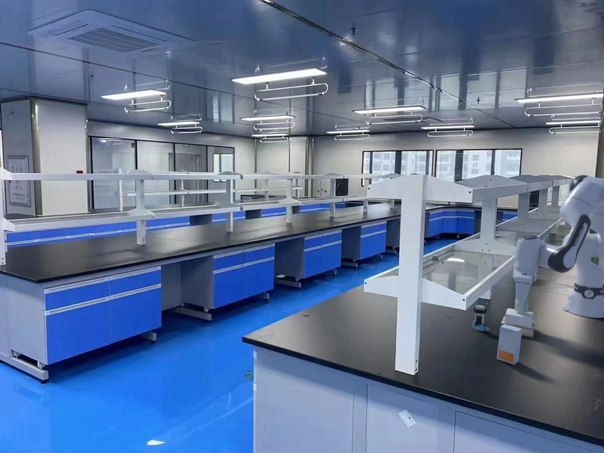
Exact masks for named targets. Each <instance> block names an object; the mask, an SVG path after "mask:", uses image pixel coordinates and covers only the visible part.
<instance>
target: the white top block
mask: <svg viewBox="0 0 604 453" xmlns="http://www.w3.org/2000/svg"><path fill="white" fill-rule="evenodd" d="M504 316H505V323H506V324H511V325H517V326H522V327H527V328H532V322H533V321H534V320H533V319H534V312H532V311H528V312H527V313H523V312H517V311H515V308H510V307H509V308H507V309H506V312H505V315H504Z"/></svg>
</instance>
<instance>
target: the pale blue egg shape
mask: <svg viewBox="0 0 604 453" xmlns="http://www.w3.org/2000/svg"><path fill="white" fill-rule="evenodd" d="M529 302H530V299H528V298H527V300H526V302H524V308H523V309H519V301H517V300H516V299H515V302H514V309H515V311H517V312H523V313H527V312H529V304H530V303H529Z"/></svg>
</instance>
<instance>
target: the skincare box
mask: <svg viewBox="0 0 604 453" xmlns="http://www.w3.org/2000/svg"><path fill="white" fill-rule="evenodd" d="M521 342H522V329H521V328H517V327H514V326H509V325H506V324H504V325H502V326H501V325H500V328H499V335H498V345H497V354H496V360H500V361H501V362H505V363H508V364H512V365H513V366H514V365H516V364H517V363H518V362H519V360H520V359H519V358H520V350H521Z"/></svg>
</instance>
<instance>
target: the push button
mask: <svg viewBox="0 0 604 453" xmlns="http://www.w3.org/2000/svg"><path fill="white" fill-rule="evenodd" d="M487 311H488V308H486V306H485V305H481V304H476V305H475V306H474V307H473V312H474V320H473V322H472V325H471V327H472V330H475V331H479V332H484V331H487V332H488V331H489V329H490V328H489V327H486V323H485V315H486V314H487Z"/></svg>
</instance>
